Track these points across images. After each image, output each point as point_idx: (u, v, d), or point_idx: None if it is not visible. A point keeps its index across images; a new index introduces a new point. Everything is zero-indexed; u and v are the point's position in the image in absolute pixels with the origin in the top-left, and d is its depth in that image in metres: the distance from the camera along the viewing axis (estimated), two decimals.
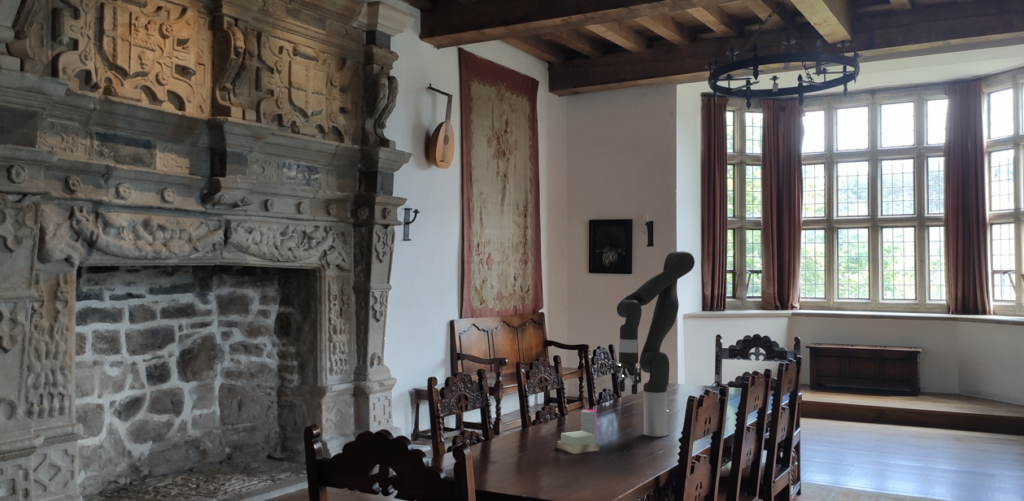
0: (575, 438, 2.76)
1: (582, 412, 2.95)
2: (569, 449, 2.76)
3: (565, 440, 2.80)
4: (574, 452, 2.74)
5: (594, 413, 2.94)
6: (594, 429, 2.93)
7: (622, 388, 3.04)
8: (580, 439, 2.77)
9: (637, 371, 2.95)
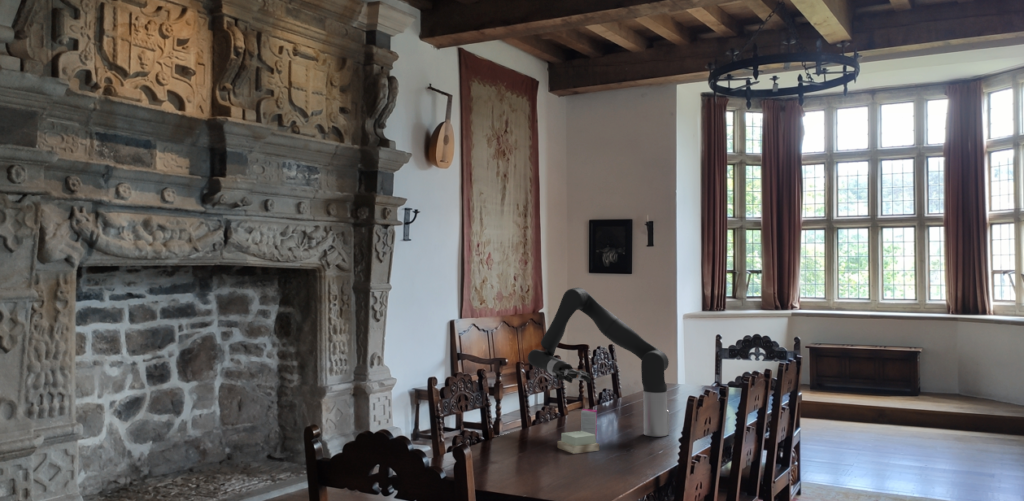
0: (576, 438, 2.76)
1: (582, 412, 2.95)
2: (569, 449, 2.76)
3: (566, 440, 2.80)
4: (574, 452, 2.74)
5: (594, 413, 2.94)
6: (594, 429, 2.93)
7: (587, 379, 3.07)
8: (581, 439, 2.77)
9: (554, 375, 3.08)
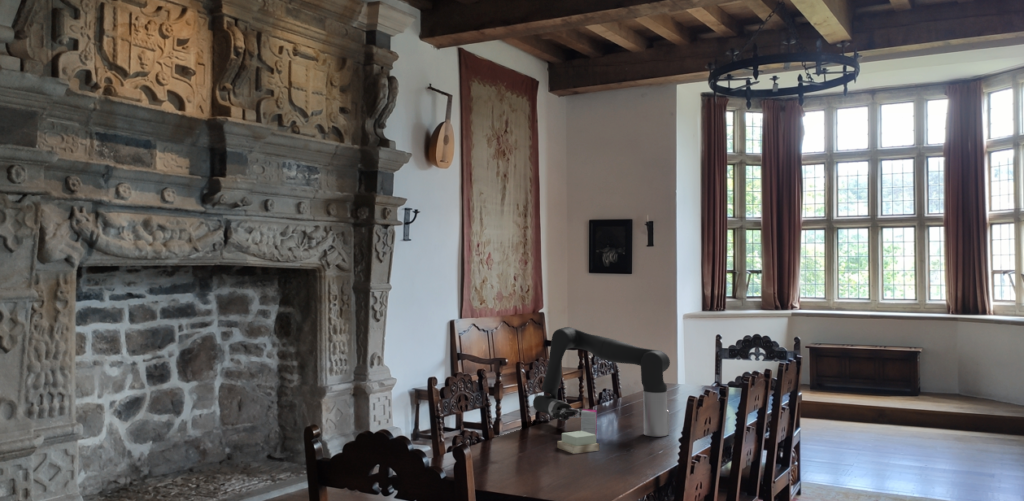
0: (577, 438, 2.76)
1: (582, 412, 2.95)
2: (569, 449, 2.76)
3: (566, 440, 2.80)
4: (574, 452, 2.74)
5: (594, 413, 2.94)
6: (594, 429, 2.93)
7: None
8: (582, 439, 2.77)
9: (551, 415, 3.13)
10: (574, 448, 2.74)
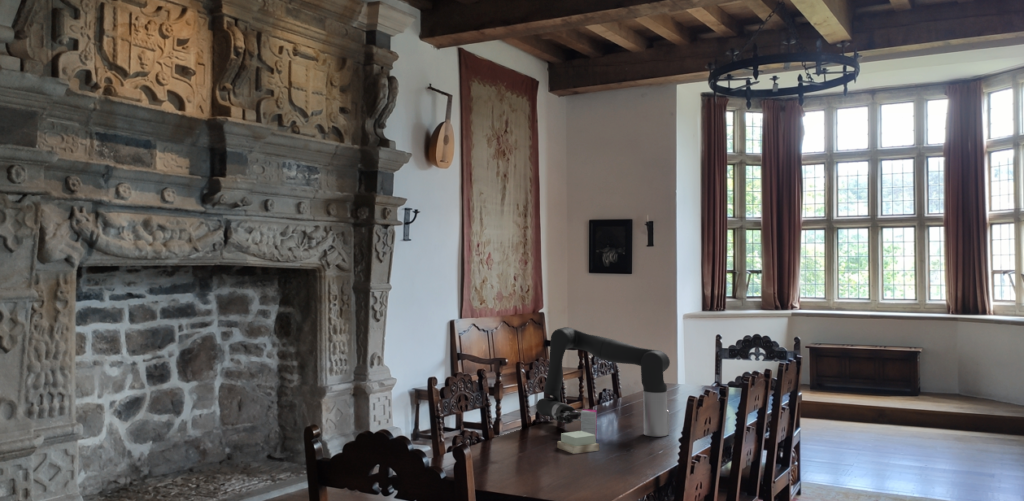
0: (577, 438, 2.76)
1: (582, 412, 2.95)
2: (569, 449, 2.76)
3: (566, 441, 2.80)
4: (574, 452, 2.74)
5: (594, 413, 2.94)
6: (594, 429, 2.93)
7: None
8: (582, 440, 2.77)
9: (555, 417, 3.11)
10: (574, 448, 2.74)
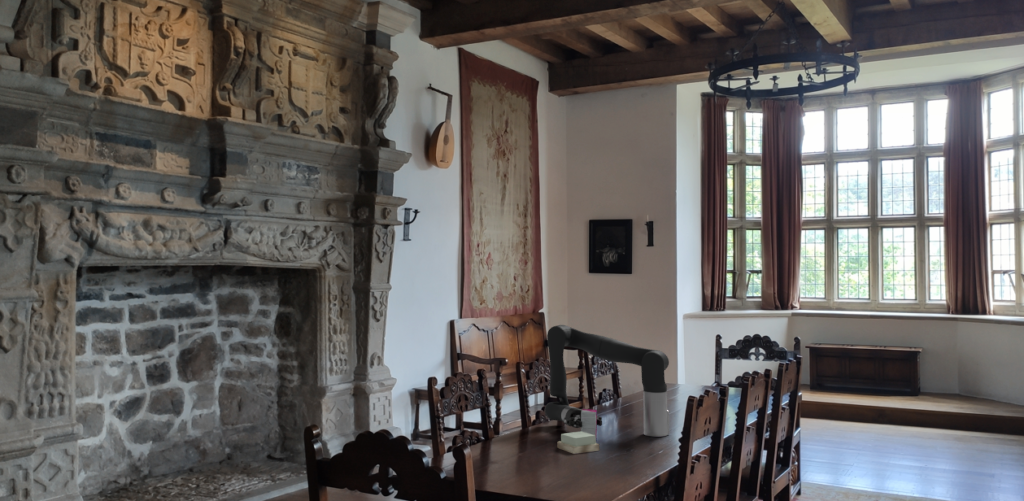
0: (576, 439, 2.75)
1: (582, 412, 2.94)
2: (569, 449, 2.76)
3: (566, 441, 2.80)
4: (574, 452, 2.74)
5: (594, 413, 2.94)
6: (594, 429, 2.93)
7: (598, 422, 2.97)
8: (581, 440, 2.76)
9: (565, 422, 3.01)
10: (574, 448, 2.74)
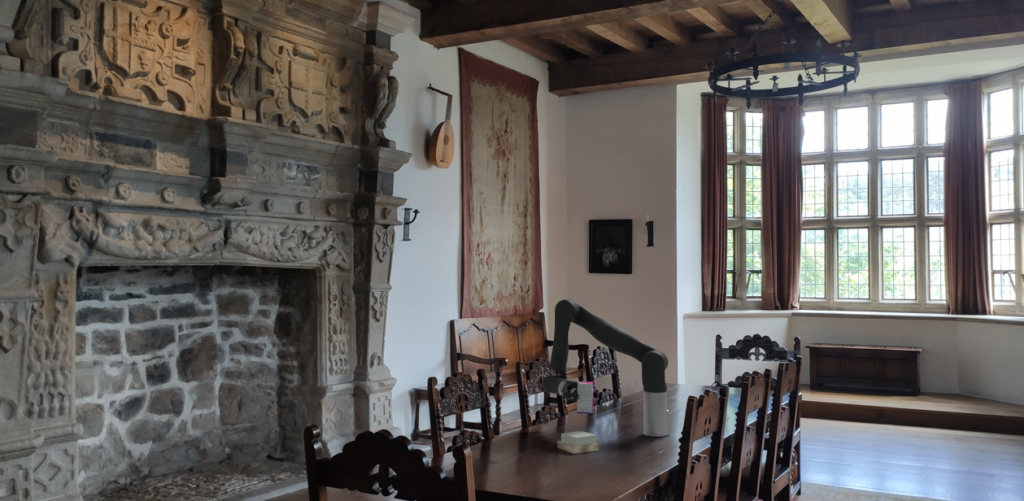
0: (577, 438, 2.75)
1: (579, 384, 2.92)
2: (569, 449, 2.76)
3: (566, 441, 2.79)
4: (574, 452, 2.74)
5: (590, 385, 2.91)
6: (590, 401, 2.90)
7: (595, 395, 2.94)
8: (582, 439, 2.76)
9: (561, 394, 2.98)
10: (574, 448, 2.74)
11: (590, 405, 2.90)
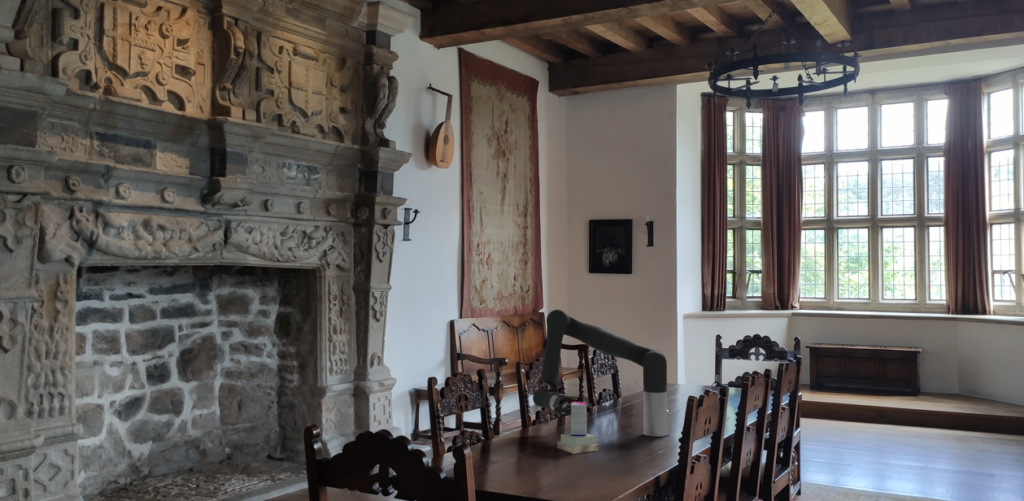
0: (577, 439, 2.75)
1: (572, 405, 2.79)
2: (569, 450, 2.76)
3: (566, 441, 2.80)
4: (574, 453, 2.74)
5: (585, 406, 2.79)
6: (585, 422, 2.79)
7: (588, 409, 2.83)
8: (582, 440, 2.77)
9: (553, 409, 2.86)
10: (574, 449, 2.74)
11: (585, 427, 2.79)
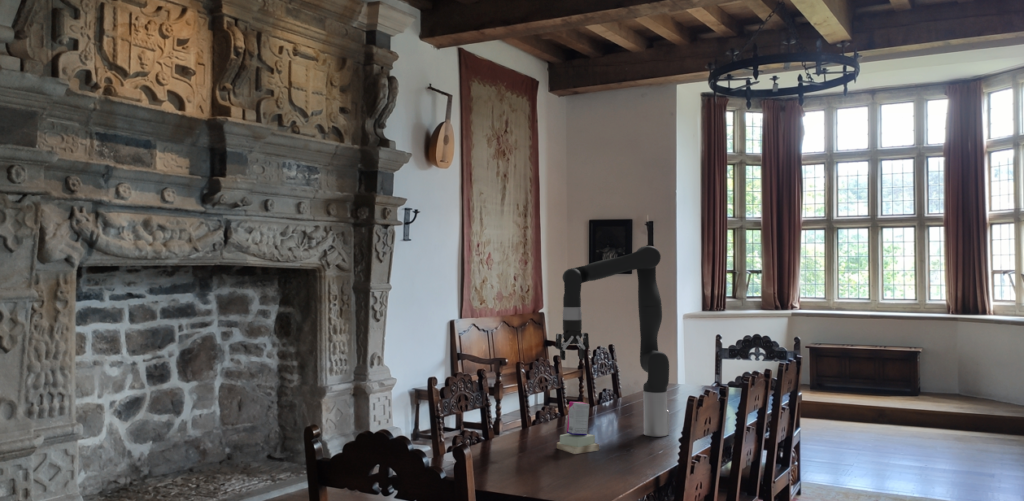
0: (579, 439, 2.75)
1: (577, 403, 2.79)
2: (570, 450, 2.75)
3: (566, 442, 2.78)
4: (575, 453, 2.73)
5: (588, 405, 2.80)
6: (587, 422, 2.79)
7: (580, 355, 3.08)
8: (583, 440, 2.76)
9: (556, 337, 3.03)
10: (575, 449, 2.73)
11: (586, 426, 2.79)
